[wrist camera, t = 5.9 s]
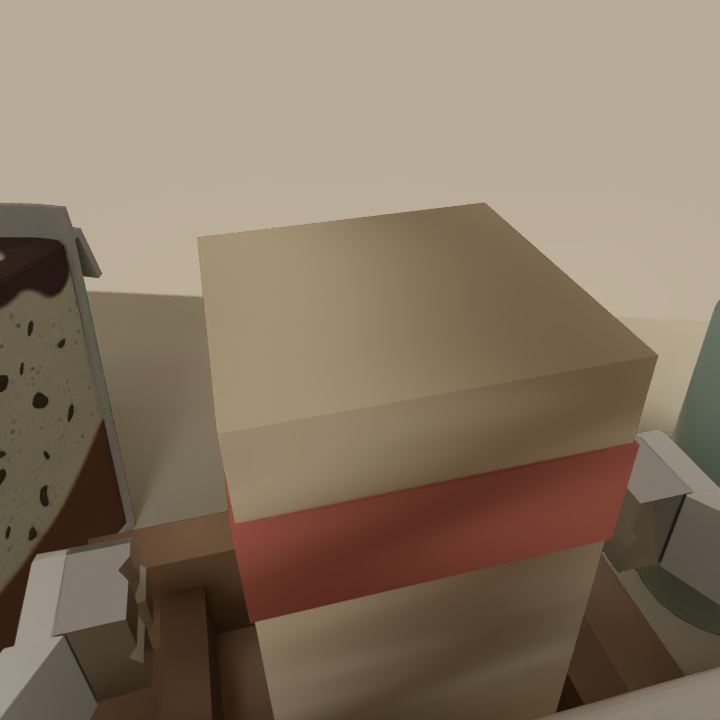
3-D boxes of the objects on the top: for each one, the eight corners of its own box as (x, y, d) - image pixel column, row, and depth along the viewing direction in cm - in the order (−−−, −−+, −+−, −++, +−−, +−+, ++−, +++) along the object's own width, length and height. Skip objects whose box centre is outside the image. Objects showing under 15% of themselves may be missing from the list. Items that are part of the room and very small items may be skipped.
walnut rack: (24, 1178, 10) (-75, 1147, 8) (85, 633, 17) (43, 543, 15) (810, 887, 12) (894, 806, 10) (567, 524, 20) (588, 434, 18)
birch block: (304, 882, 12) (212, 438, 6) (271, 657, 16) (193, 236, 9) (531, 811, 13) (665, 357, 7) (449, 612, 17) (486, 201, 10)
